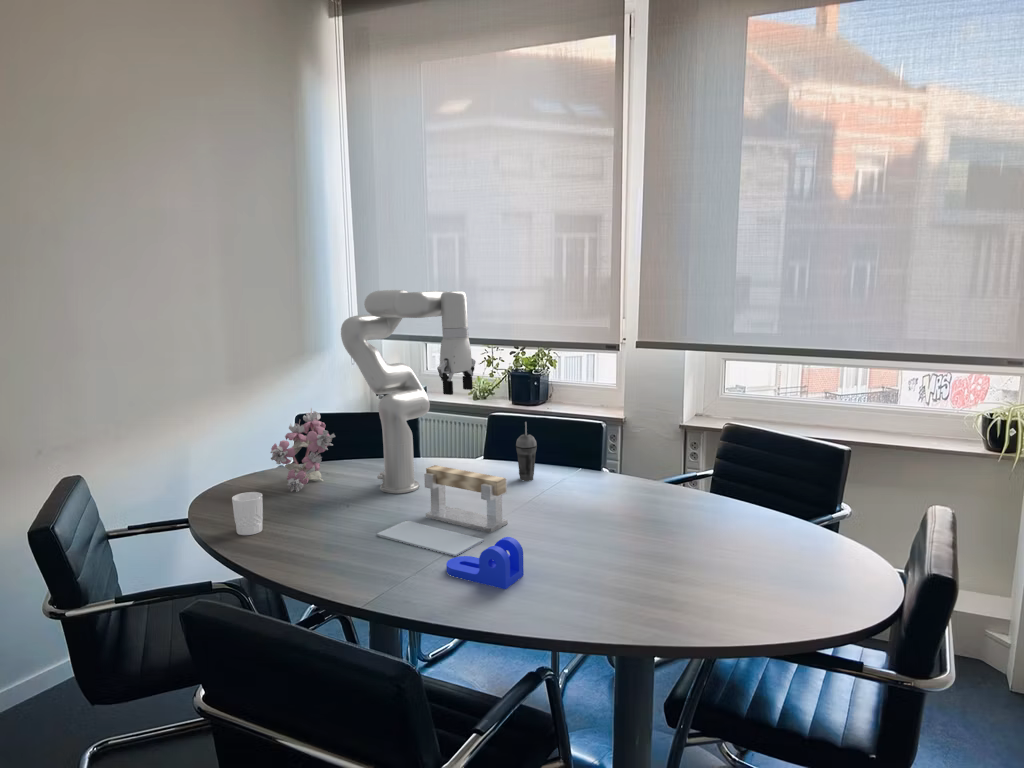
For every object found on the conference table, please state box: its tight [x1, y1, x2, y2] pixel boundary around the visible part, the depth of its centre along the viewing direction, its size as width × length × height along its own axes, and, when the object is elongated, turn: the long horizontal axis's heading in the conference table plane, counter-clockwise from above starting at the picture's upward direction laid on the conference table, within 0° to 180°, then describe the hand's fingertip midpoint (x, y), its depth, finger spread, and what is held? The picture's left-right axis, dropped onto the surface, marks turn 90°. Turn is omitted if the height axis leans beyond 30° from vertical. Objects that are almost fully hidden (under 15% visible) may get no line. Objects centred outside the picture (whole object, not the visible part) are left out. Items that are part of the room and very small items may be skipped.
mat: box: [376, 520, 485, 557], centre depth 193 cm, size 27×12×1 cm, turn 56°
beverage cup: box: [515, 421, 538, 482], centre depth 244 cm, size 7×7×20 cm
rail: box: [425, 464, 507, 496], centre depth 205 cm, size 25×4×4 cm, turn 56°
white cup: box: [231, 491, 264, 536], centre depth 200 cm, size 8×8×10 cm
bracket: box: [446, 536, 525, 590], centre depth 170 cm, size 18×8×9 cm, turn 60°
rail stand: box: [423, 472, 508, 533], centre depth 205 cm, size 23×8×13 cm, turn 56°
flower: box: [270, 407, 336, 493], centre depth 241 cm, size 20×22×25 cm
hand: (458, 391), depth 214 cm, fingers open, 9 cm apart
